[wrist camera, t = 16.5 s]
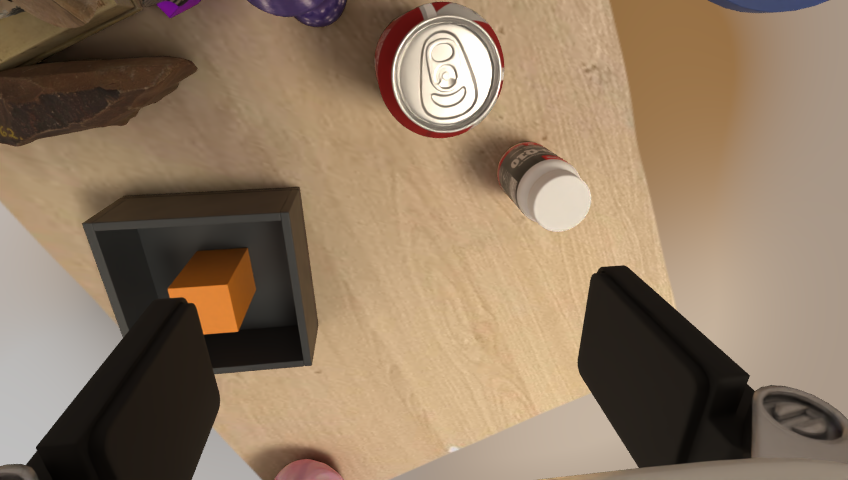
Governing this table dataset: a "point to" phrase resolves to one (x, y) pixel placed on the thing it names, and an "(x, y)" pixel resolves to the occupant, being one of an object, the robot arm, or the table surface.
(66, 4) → the tan hollow rounded piece
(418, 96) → the soda can
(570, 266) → the table surface
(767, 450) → the robot arm
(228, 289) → the orange block
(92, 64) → the stone tool
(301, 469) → the cupcake
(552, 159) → the pill bottle
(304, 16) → the toy lamp
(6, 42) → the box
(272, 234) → the bin
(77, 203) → the table surface
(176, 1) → the toy
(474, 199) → the table surface
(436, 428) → the table surface
